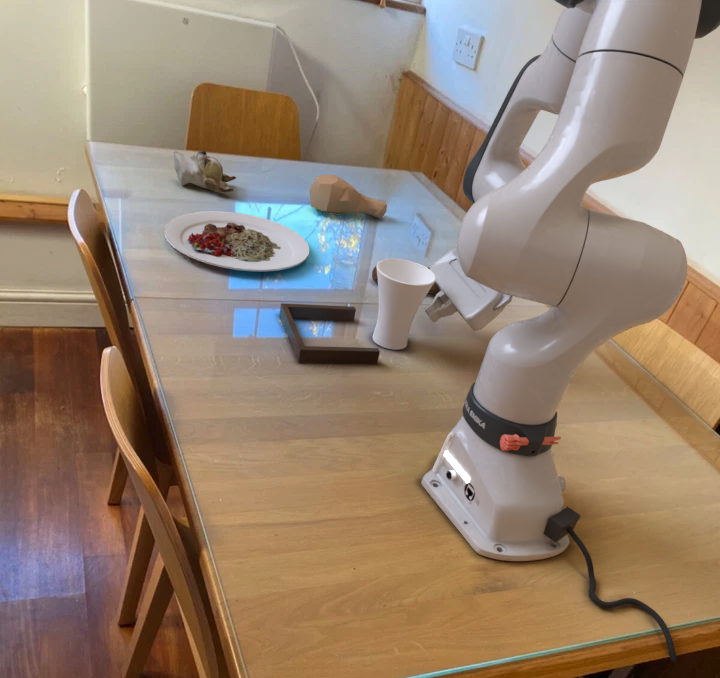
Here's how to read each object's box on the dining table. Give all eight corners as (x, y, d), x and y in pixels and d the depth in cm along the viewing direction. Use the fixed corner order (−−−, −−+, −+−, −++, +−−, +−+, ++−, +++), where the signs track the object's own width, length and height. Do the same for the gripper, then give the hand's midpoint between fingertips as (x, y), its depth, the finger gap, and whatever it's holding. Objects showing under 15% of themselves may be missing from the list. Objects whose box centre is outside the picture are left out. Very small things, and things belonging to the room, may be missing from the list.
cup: (370, 355, 123) (386, 283, 114) (355, 325, 130) (369, 256, 122) (425, 356, 126) (445, 286, 118) (407, 328, 134) (424, 260, 125)
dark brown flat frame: (377, 364, 121) (380, 351, 119) (298, 362, 116) (300, 349, 114) (351, 318, 132) (354, 306, 131) (279, 315, 128) (280, 303, 126)
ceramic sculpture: (177, 137, 169) (239, 152, 172) (174, 174, 174) (234, 188, 177) (171, 150, 161) (236, 166, 164) (168, 188, 166) (231, 202, 169)
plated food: (333, 253, 155) (335, 238, 153) (256, 293, 133) (258, 276, 131) (222, 209, 163) (223, 195, 161) (132, 240, 140) (132, 223, 138)
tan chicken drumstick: (300, 203, 177) (309, 165, 173) (373, 222, 184) (383, 186, 180) (309, 211, 168) (318, 172, 164) (385, 230, 175) (396, 193, 172)
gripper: (524, 308, 119) (457, 357, 122) (477, 257, 133) (418, 302, 136) (510, 281, 115) (441, 333, 117) (463, 232, 129) (402, 279, 132)
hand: (428, 316), depth 127 cm, fingers closed
